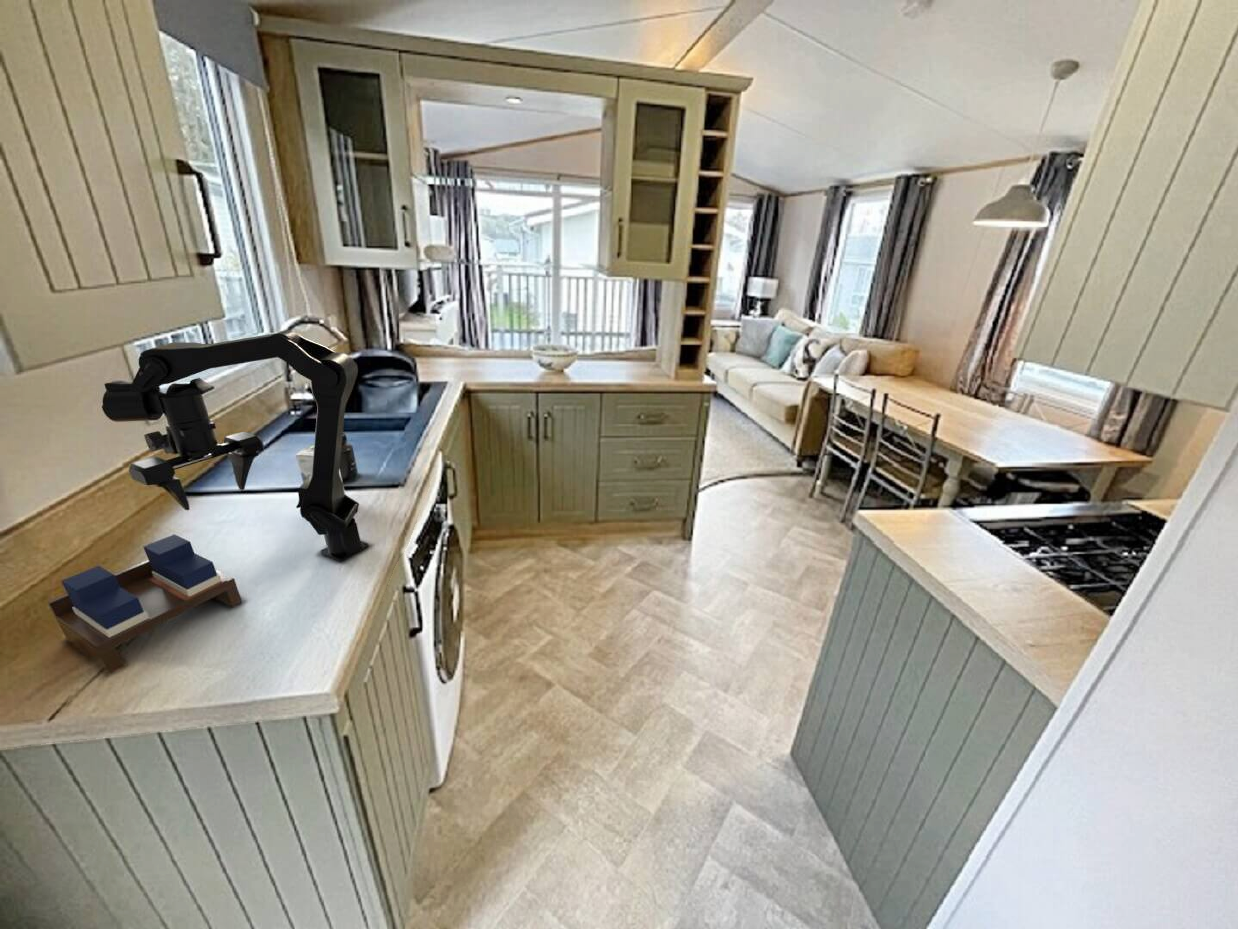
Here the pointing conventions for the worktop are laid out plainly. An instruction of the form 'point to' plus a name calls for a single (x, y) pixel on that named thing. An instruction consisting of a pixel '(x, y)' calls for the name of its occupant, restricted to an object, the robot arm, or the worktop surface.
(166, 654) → the worktop surface
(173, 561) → the trainer
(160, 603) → the shoe rack
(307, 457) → the syrup box
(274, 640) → the worktop surface
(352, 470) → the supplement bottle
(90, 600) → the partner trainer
